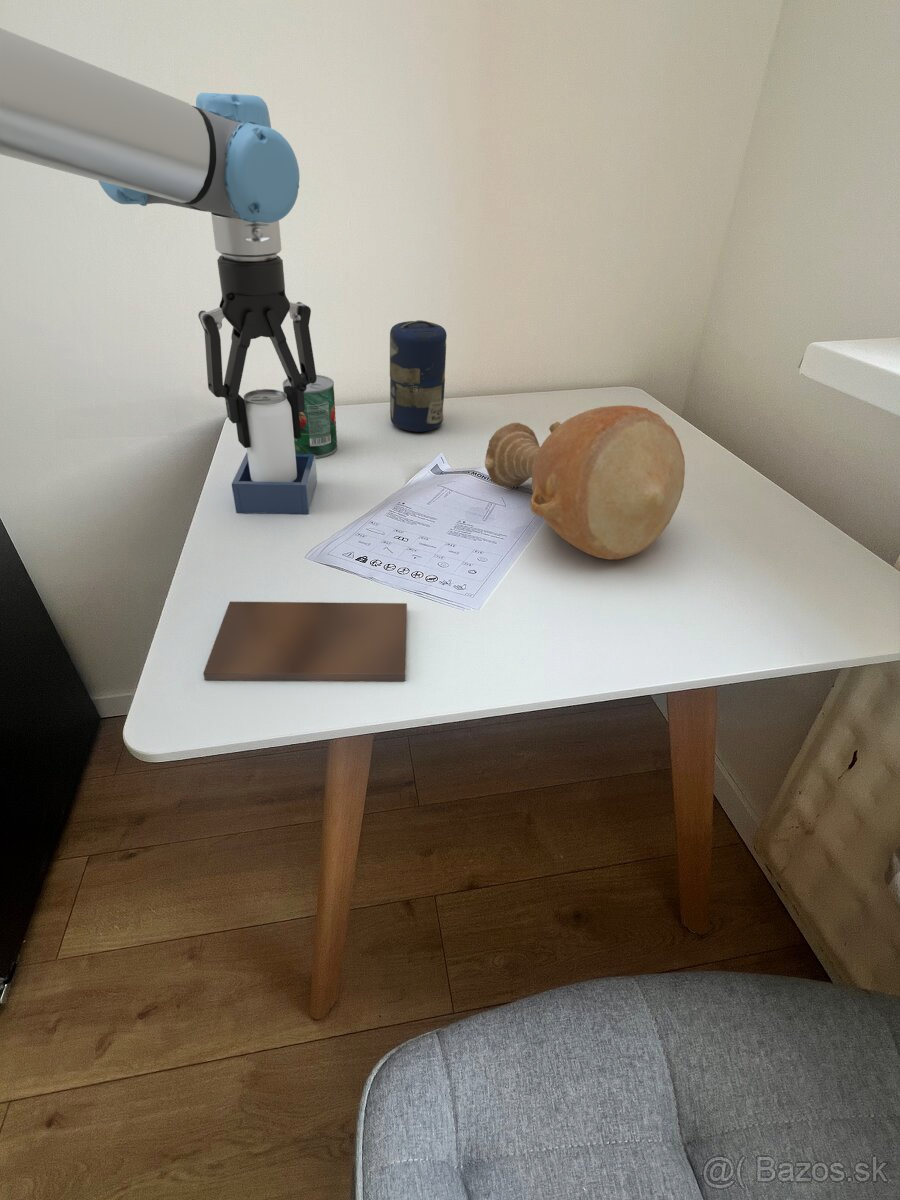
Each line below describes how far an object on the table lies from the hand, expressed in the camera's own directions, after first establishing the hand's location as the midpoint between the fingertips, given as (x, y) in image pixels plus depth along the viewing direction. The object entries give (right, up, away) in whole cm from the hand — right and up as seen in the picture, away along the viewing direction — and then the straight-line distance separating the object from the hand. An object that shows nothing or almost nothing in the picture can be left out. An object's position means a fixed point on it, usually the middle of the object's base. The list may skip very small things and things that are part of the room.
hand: (270, 439), depth 96 cm
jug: (+42, -11, +3) cm, 44 cm away
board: (+10, -27, -21) cm, 35 cm away
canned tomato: (+2, +3, +19) cm, 20 cm away
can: (0, -5, +4) cm, 6 cm away
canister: (+19, +9, +29) cm, 36 cm away
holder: (0, -7, +5) cm, 9 cm away
